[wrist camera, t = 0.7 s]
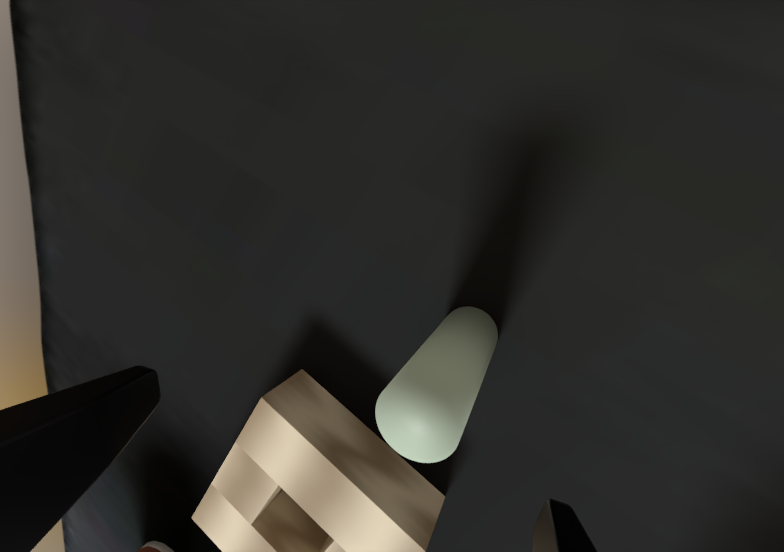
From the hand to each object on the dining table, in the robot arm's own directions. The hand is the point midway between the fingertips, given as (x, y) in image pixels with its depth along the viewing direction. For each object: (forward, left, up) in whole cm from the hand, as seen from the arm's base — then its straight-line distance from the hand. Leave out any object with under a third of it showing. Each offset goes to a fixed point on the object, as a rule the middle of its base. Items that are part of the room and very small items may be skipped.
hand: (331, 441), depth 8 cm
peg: (-2, +2, -14) cm, 14 cm away
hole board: (-1, +18, -14) cm, 22 cm away
